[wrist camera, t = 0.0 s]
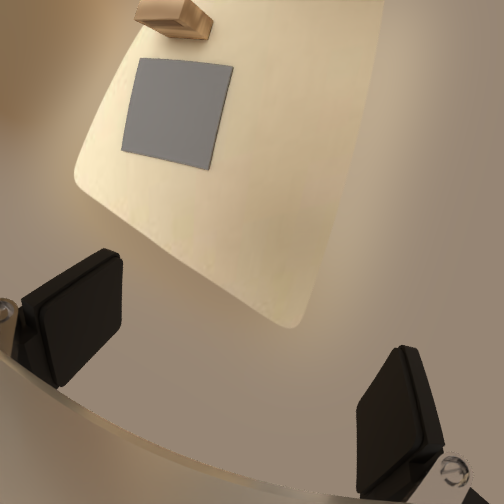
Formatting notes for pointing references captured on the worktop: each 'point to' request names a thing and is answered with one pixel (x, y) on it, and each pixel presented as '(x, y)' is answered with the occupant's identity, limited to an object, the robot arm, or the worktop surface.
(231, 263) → the worktop surface
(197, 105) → the rubber mat
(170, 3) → the oak slab
